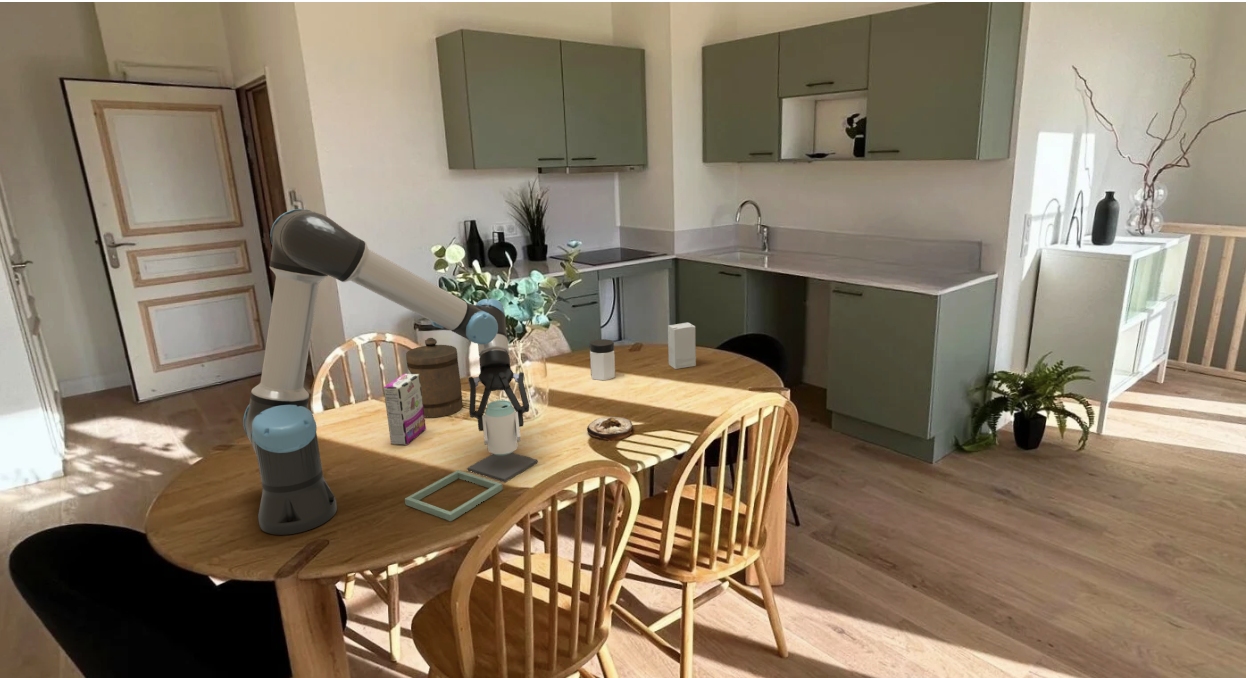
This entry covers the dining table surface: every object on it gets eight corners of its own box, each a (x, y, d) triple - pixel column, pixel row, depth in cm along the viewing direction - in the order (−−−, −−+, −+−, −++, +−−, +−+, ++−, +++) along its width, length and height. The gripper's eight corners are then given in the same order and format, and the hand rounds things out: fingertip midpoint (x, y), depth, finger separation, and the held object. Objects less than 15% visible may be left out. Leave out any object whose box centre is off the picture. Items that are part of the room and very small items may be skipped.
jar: (606, 370, 239) (605, 337, 236) (620, 376, 233) (619, 342, 230) (585, 376, 234) (583, 342, 231) (599, 382, 228) (597, 347, 225)
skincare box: (688, 362, 247) (688, 321, 243) (696, 366, 242) (696, 325, 238) (667, 365, 244) (667, 324, 240) (674, 369, 239) (674, 328, 235)
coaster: (504, 482, 161) (504, 479, 161) (467, 470, 167) (467, 467, 167) (537, 462, 171) (537, 459, 170) (501, 452, 177) (500, 449, 177)
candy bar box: (410, 428, 194) (403, 372, 189) (426, 429, 193) (420, 373, 188) (389, 444, 183) (382, 386, 179) (406, 446, 182) (399, 387, 178)
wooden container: (421, 400, 215) (413, 332, 209) (468, 399, 215) (462, 331, 209) (405, 418, 201) (396, 345, 195) (455, 417, 201) (448, 345, 195)
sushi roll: (571, 437, 186) (571, 422, 185) (603, 418, 198) (602, 405, 197) (617, 448, 178) (616, 433, 177) (647, 428, 190) (647, 414, 189)
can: (517, 443, 172) (513, 397, 169) (517, 455, 165) (514, 408, 162) (488, 445, 171) (484, 400, 167) (488, 458, 164) (483, 410, 161)
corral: (450, 521, 144) (450, 515, 144) (405, 504, 152) (404, 498, 151) (502, 489, 157) (502, 483, 157) (458, 475, 165) (457, 470, 164)
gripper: (533, 359, 180) (543, 441, 169) (455, 366, 176) (460, 451, 165) (534, 345, 173) (545, 430, 162) (452, 352, 169) (458, 439, 158)
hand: (502, 440), depth 163 cm, fingers closed on can, 7 cm apart
